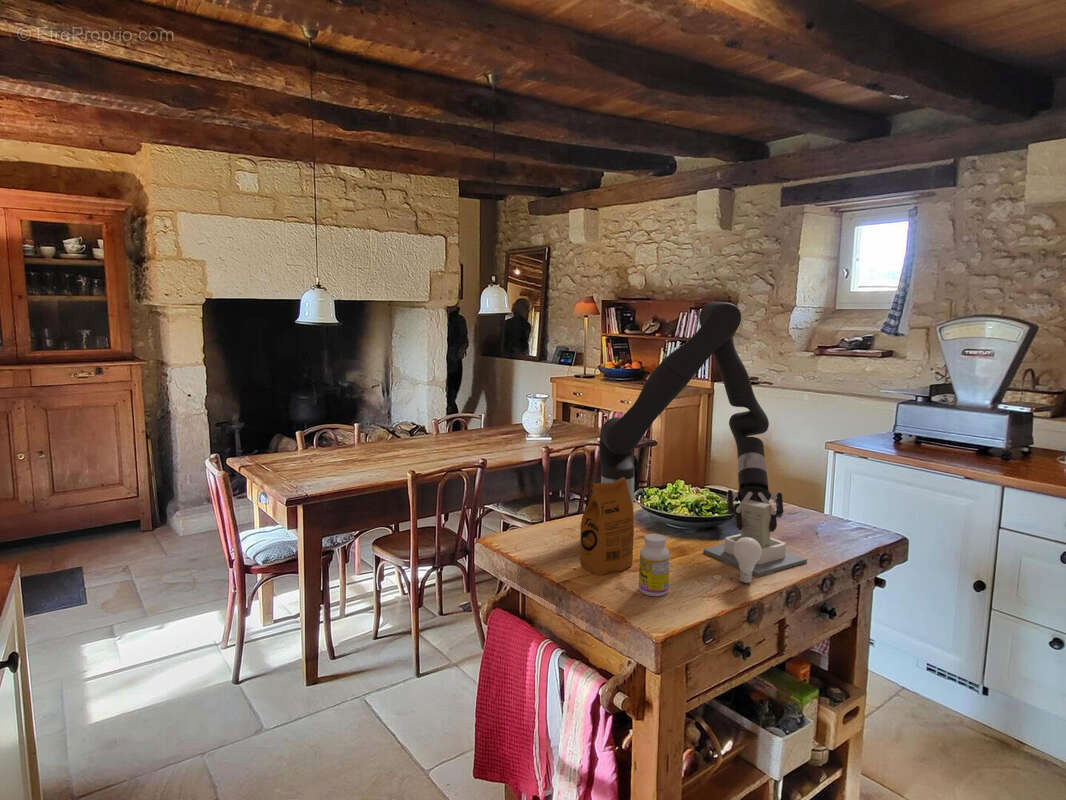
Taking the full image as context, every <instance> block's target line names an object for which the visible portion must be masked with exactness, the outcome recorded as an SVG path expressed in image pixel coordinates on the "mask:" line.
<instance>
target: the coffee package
mask: <svg viewBox="0 0 1066 800" xmlns="http://www.w3.org/2000/svg"><path fill="white" fill-rule="evenodd" d="M590 489H591V491H592V494H591V495H590V498H589V502H588V504H587V506H586V507H585V510H584V511H583V514H582V516H581V521H580V543H579V544H580V545H579V546H580V547H579V562H580V565H581V567H583V568H585V569H587V571H590V572H591V573H592V574H595V575H597V576H604V575H607V574H609V573H610V572H616V573H618V572H619V573H620V572H623V571H624V570H626V569H628V568H630V567H632V566H633V562H634V561H633V559H634V539H635V537H634V533H635V529H634V528H635V525H634V524H635V516H634V515H635V514H634V506H633V503H632V500H631V496H630V494H629V489H628V486H627V483H626V479H625V478H624V477H622V478H620V479H618V480H617V481H615V482H614V483H601V482H596V483H595V482H591V484H590Z"/></svg>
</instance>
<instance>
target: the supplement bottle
mask: <svg viewBox="0 0 1066 800" xmlns="http://www.w3.org/2000/svg"><path fill="white" fill-rule="evenodd" d="M666 541H667V537H666V536H665V535H663V534H658V533H649V534H646V535H645V536H644V543H645V545H643V546H642V547H641V548H640V550H639V573H638V574H639V575H638V589H639V591H640V593H642V594H644V595H645V596H649V597H662V596H663V597H664V596H665V595H666V594H668V592H669V582H670V581H669V580H670V557H671V556H670V555H671V553H670V550H669V549H668V547H666V546H665V545H666V543H667V542H666Z"/></svg>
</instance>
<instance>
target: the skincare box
mask: <svg viewBox="0 0 1066 800" xmlns="http://www.w3.org/2000/svg"><path fill="white" fill-rule="evenodd" d="M771 506H772V504H771V503H770V504H766V503H762V502H757V501H752V500H749V501H746V502H743V503H742V513H741V515H742V530H740V534H741V538H743V537H750V538H753V539H755V540H756V541H757V542H758V543H759V544H760V546H761V549H762V548H766V547H770V537H771V532H770V526H771Z"/></svg>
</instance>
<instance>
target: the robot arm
mask: <svg viewBox="0 0 1066 800" xmlns="http://www.w3.org/2000/svg"><path fill="white" fill-rule="evenodd" d="M698 322H699V324H700V327H699V329H698V330H697V331H696V332H695V334H694V335H693V336H692V337H691V338H690V339H688V340H687V341H686V342H685V343H683V344H682V345H680V346H679V347H678V348H676V349H675V350H673V351H672V352H671V353H670V354H668V355H667V356H666V357H664V359H663V360H662V361H661V362H660V363H659V364H658V365H657V366H656V368H655V369H654V370H653V371H652V372H651V374H650V375H649V377H648V378H647V379H646V381H645V383H644V385H643V386H642V389H641V391H640V393H639V394H638V396H637V398H636V401H635V402H634V404H632V406H631V407H630V408H629V409H628V410H627V411H626V412H625V413H624V414H623V415H622V416H621V417H611V418H609V419H607V420H606V421H605V422H604V423H603V424H602V426H601V429H600V434H599V463H600V470H601V471H600V473H601V474H600V476H601V477H600V478H601V479H600V481H601V482H600V483H614V482H615V481H617V480H618V479H620V478H622V477H624V478H625V479H626V483H627V486H628V489H629V494H630V496H631V500H632V503H633V507H634V503H635V501H634V499H635V498H634V497H635V470H636V469H635V464H634V460H633V450H634V449H635V448H636V447H637V445H638V444H639V443H640V441H641V440H642V438H643V437H644V435H645V434H646V433H647V431H648V430H649V428H650V427H651V425H652V424H653V423H654V421H655V420H656V419H657V418H658V417H659V416H660V415H661V414H662V413H663V411H665V409H666V408H667V407H668V406H669V405H670V404H671V403H672V402H673V400H675V398H677V397H678V395H679V394H680V393H681V392H682V391H683V390H684V389H685V387H686V386H687V385H688V384H689V382H690V381H691V380H692V379H693V378H694V376H695V375H696V374H697V373H698V371H700V369H701V368H702V367H703V366H704V365H705V363H706V362H707V361H708V359H709V358H710V357H711V356H712V355H713V356H714V358H715V361H716V364H717V366H718V368H719V373H720V375H721V378H722V382H723V386H724V389H725V393H726V396H727V400H728V403H729V405H730V406H732V407H734V408H746V409H747V411H741V412H737V413H734V414H732V415H731V416H730V418H729V420H728V426H729V429H730V431H731V434H732V435H733V439H734V442H735V445H736V449H737V451H736V452H737V468H736V469H737V471H736V472H737V478H738V479H737V483H738V484H737V485H738V490H737V491H732V490H731V489H728V490H727V494H726V506H727V508H726V509H727V514H728V515H733V516H734V521H735V527H736V528H738V530H739V531H741V530H742V515H741V514H742V503H743V502H746V501H749V500H752V501H757V502H762V503H766V504H771V503H770V500H772V501H773V503H775V507H776V509H774V508H773V507H772V505H771V526H770V533H774V532H775V531H776V530H777V527H778V522H777V518H782V516H783V513H784V502H783V501H784V500H783V494H782V493H781V492H778V493H771V492H770V491H769V489H770V488H769V480H768V469H767V462H766V457H765V447H764V442H763V440H762V439H760V438H758V437H755V436H757V435H761V434H765V433H766V432H767V431H768V430H769V426H770V422H769V418H768V416H767V414H766V412H765V411H764V410H763V408H762V406H761V405H760V404H759V401H758V400H757V398H756V396H755V393H754V390H753V386H752V382H751V380H750V376H749V374H748V371H747V368H746V366H745V365H744V363H743V361H742V359H741V358H740V356H739V353H738V352H737V349H736V347H735V345H734V342H733V339H732V336H733V335H734V334H735V333H736V332H737V330H739V327H740V325H741V322H742V313H741V310H740V308H739V307H738V306H736V305H735V304H733V303H730V302H725V301H711V302H708V303H706V304H705V305H703V307H702V308H701V309H700V312H699V315H698ZM736 498H737V499H738V500H739V501H740V503H739V505H738V507H737V508H735V507H734V501H735V500H736Z"/></svg>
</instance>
